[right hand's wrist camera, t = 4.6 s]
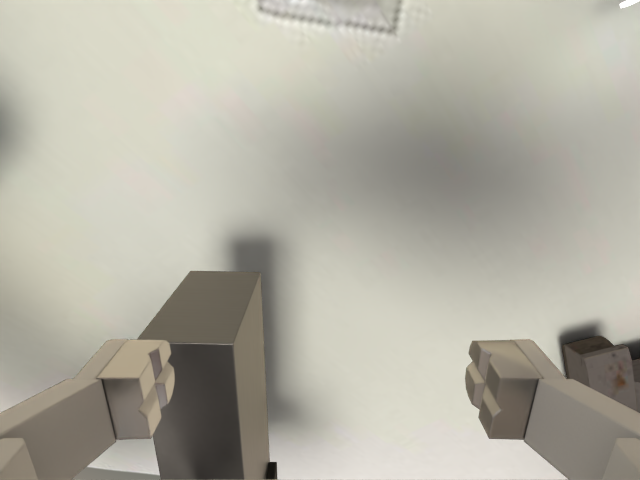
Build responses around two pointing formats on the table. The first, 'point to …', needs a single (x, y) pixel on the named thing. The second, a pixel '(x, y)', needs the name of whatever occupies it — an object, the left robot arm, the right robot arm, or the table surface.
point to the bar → (214, 379)
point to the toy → (604, 369)
